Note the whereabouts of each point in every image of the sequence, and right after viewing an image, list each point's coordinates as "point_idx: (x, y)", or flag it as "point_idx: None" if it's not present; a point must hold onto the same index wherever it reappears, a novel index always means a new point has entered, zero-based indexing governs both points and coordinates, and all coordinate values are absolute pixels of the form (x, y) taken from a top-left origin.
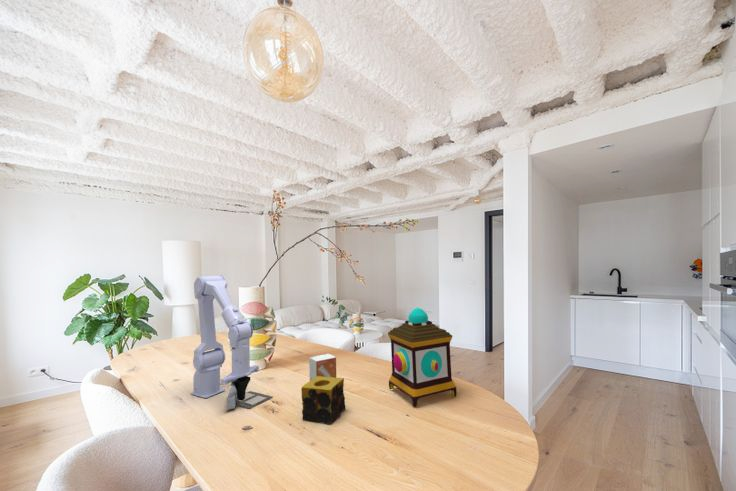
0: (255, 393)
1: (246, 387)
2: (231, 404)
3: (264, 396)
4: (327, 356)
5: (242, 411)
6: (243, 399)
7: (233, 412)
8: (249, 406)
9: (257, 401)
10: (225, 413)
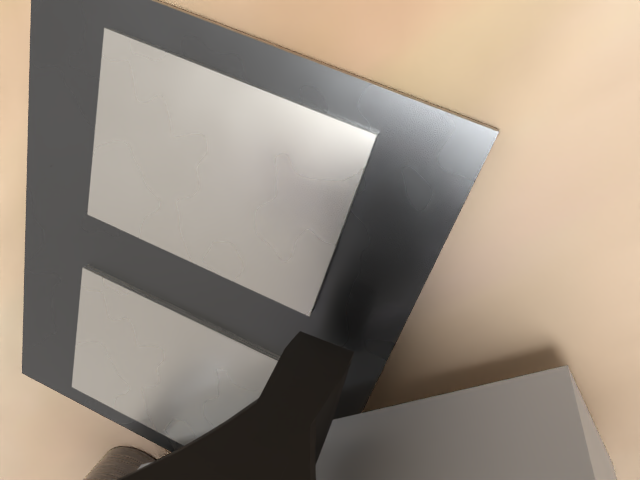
0: (46, 286)
1: (197, 448)
2: (600, 457)
3: (71, 111)
4: None
5: (578, 212)
6: (323, 342)
7: (609, 337)
8: (425, 169)
9: (248, 120)
10: (636, 433)
